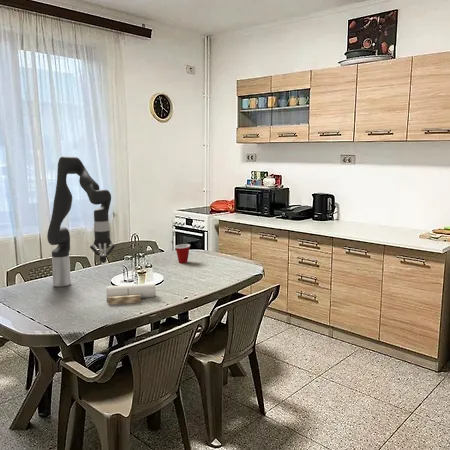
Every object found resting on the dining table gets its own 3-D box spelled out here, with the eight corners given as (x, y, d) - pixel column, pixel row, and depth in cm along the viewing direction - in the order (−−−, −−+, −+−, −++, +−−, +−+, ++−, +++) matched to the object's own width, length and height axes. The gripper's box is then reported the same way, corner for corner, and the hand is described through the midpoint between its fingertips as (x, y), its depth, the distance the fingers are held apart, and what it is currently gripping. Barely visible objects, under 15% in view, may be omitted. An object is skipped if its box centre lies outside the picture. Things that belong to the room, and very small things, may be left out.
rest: (108, 304, 224) (108, 298, 223) (109, 295, 237) (109, 289, 236) (140, 302, 227) (140, 295, 227) (139, 293, 241) (139, 287, 240)
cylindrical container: (107, 292, 235) (154, 288, 240) (107, 303, 230) (155, 299, 235) (106, 283, 230) (154, 280, 236) (106, 294, 225) (155, 291, 231)
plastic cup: (174, 260, 308) (173, 243, 306) (189, 260, 310) (189, 243, 308) (175, 264, 298) (175, 247, 296) (191, 264, 300) (191, 246, 297)
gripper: (115, 227, 228) (117, 260, 231) (88, 228, 225) (90, 261, 228) (115, 230, 221) (116, 263, 224) (87, 231, 218) (89, 265, 221)
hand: (103, 262), depth 226 cm, fingers closed
